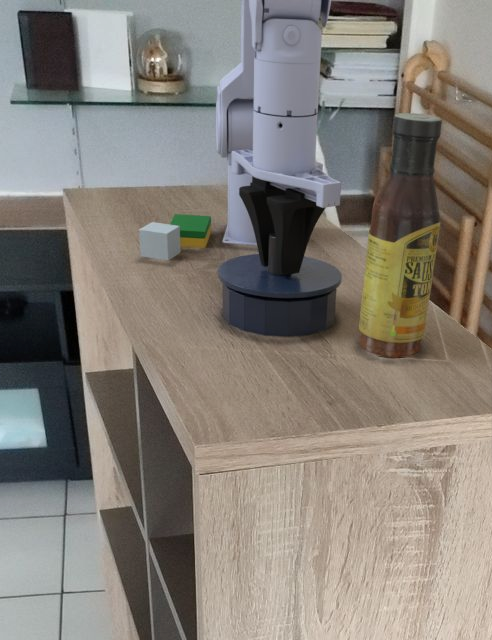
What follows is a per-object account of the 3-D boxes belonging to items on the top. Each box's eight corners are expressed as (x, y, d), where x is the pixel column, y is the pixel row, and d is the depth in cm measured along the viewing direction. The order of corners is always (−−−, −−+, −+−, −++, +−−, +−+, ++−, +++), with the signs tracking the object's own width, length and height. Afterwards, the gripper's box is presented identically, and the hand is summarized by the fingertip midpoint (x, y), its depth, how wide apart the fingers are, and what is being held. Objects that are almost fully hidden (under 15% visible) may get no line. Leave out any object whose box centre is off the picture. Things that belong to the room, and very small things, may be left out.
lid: (211, 264, 92) (211, 217, 89) (327, 263, 94) (330, 217, 91) (225, 305, 83) (225, 254, 80) (353, 303, 85) (357, 253, 82)
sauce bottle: (403, 368, 83) (433, 126, 70) (345, 351, 85) (364, 115, 73) (433, 347, 87) (467, 116, 75) (377, 332, 90) (400, 106, 77)
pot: (228, 299, 95) (228, 261, 93) (333, 305, 95) (336, 267, 93) (218, 338, 86) (218, 297, 84) (334, 344, 87) (337, 304, 84)
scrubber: (175, 234, 113) (174, 213, 111) (211, 236, 113) (211, 216, 112) (168, 250, 107) (167, 229, 106) (205, 252, 108) (205, 231, 106)
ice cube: (153, 253, 106) (152, 221, 104) (180, 257, 106) (179, 225, 104) (140, 261, 104) (138, 229, 102) (168, 265, 103) (167, 233, 101)
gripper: (372, 123, 77) (359, 283, 85) (274, 95, 86) (271, 244, 94) (307, 128, 73) (299, 296, 82) (212, 99, 82) (214, 253, 91)
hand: (280, 269), depth 88 cm, fingers closed on lid, 2 cm apart
